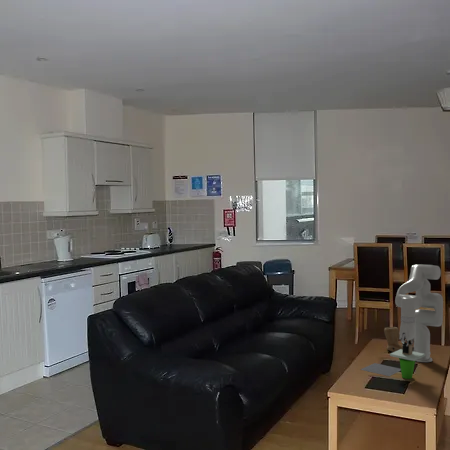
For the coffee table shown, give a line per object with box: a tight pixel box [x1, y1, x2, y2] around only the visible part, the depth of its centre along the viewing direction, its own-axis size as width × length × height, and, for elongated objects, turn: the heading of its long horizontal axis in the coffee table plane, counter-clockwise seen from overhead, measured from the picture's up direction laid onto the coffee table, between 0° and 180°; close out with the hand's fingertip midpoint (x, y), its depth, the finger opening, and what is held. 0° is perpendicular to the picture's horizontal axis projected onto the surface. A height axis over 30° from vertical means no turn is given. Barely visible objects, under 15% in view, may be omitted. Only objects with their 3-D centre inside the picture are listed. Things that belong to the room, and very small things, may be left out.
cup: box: [398, 358, 416, 380], centre depth 293 cm, size 9×9×11 cm
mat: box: [360, 362, 401, 377], centre depth 308 cm, size 18×18×1 cm
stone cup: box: [383, 326, 402, 353], centre depth 354 cm, size 15×12×15 cm
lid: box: [389, 344, 425, 362], centre depth 293 cm, size 14×14×6 cm
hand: (407, 351), depth 293 cm, fingers closed on lid, 4 cm apart
